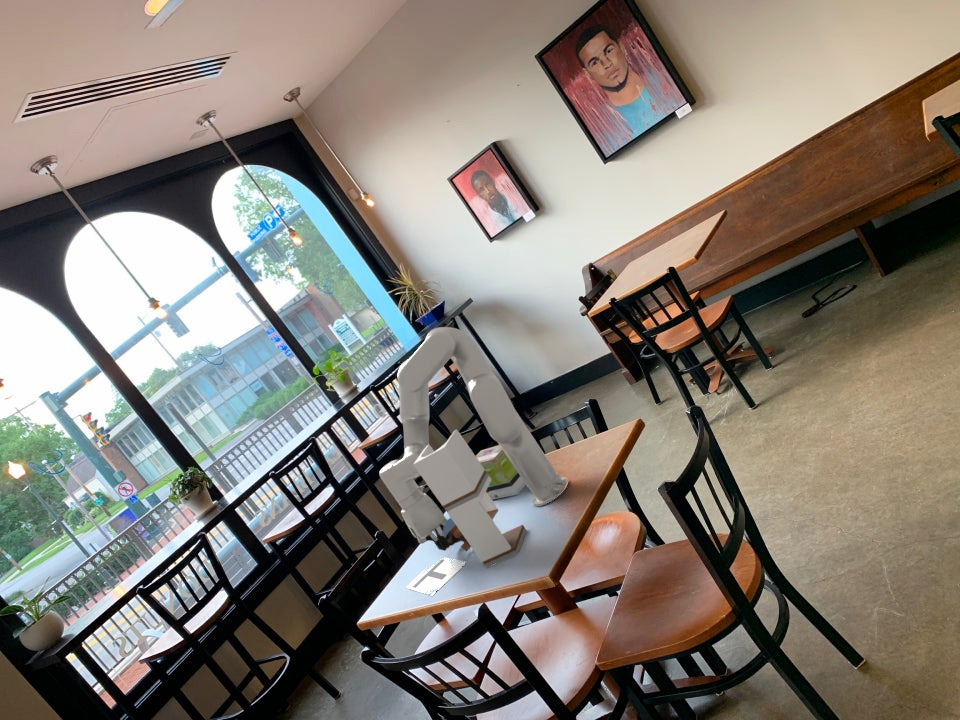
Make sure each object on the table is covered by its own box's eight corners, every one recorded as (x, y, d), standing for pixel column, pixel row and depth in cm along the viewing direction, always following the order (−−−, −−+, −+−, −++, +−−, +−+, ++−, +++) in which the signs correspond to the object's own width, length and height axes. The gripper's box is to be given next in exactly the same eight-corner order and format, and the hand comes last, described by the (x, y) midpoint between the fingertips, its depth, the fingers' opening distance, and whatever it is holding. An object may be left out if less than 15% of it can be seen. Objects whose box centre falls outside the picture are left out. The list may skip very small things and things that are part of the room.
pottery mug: (459, 559, 213) (439, 539, 215) (464, 562, 221) (445, 543, 224) (487, 528, 215) (467, 509, 217) (491, 532, 223) (472, 514, 226)
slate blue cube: (462, 531, 234) (451, 516, 233) (448, 543, 231) (438, 528, 230) (454, 530, 239) (444, 515, 238) (441, 542, 236) (430, 527, 236)
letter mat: (467, 562, 208) (467, 561, 208) (432, 596, 202) (431, 595, 202) (439, 556, 226) (438, 556, 226) (405, 587, 219) (405, 587, 219)
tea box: (488, 502, 243) (463, 466, 241) (504, 484, 250) (480, 449, 248) (518, 495, 232) (492, 458, 230) (534, 476, 239) (509, 440, 237)
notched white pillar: (518, 553, 193) (444, 447, 188) (486, 568, 197) (413, 464, 192) (526, 530, 203) (456, 429, 198) (496, 544, 207) (426, 445, 202)
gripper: (424, 483, 221) (457, 531, 224) (387, 514, 214) (421, 564, 217) (435, 483, 214) (468, 532, 217) (396, 515, 207) (432, 566, 210)
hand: (445, 548), depth 217 cm, fingers closed
